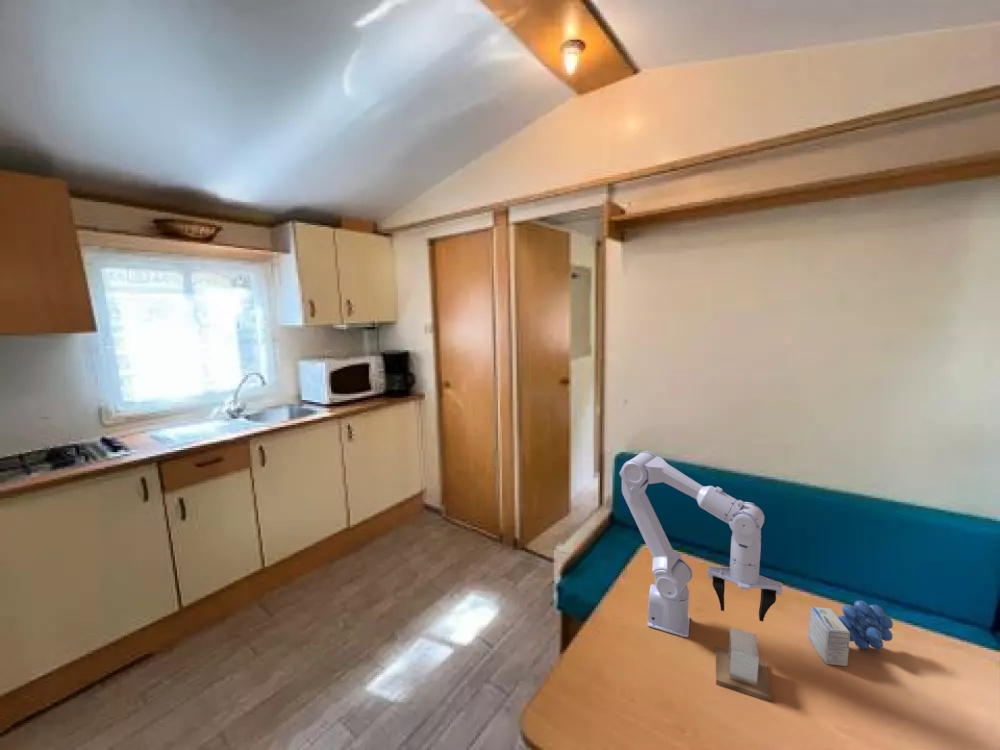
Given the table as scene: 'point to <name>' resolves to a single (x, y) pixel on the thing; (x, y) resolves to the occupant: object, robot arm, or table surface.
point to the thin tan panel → (723, 680)
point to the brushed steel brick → (743, 657)
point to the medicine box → (829, 636)
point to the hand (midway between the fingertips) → (741, 613)
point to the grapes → (866, 624)
